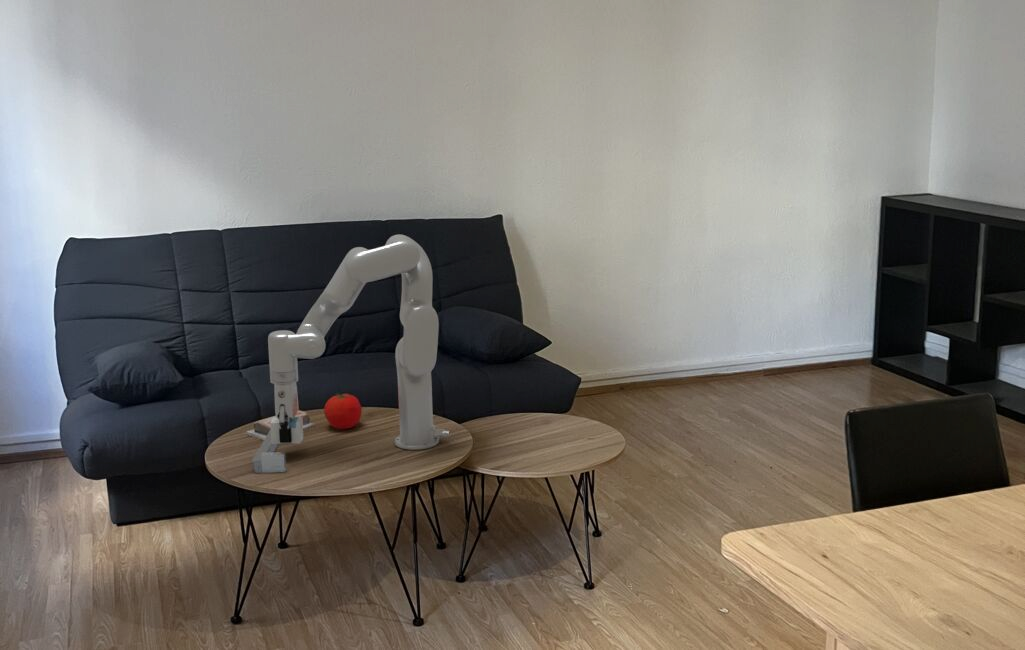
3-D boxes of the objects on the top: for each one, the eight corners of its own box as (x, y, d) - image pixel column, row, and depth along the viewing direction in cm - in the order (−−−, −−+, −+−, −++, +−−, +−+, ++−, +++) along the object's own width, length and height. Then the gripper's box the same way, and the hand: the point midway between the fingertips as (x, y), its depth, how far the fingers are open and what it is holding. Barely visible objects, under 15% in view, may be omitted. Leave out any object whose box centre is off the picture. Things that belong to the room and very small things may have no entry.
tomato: (367, 420, 332) (365, 388, 330) (356, 433, 320) (355, 400, 317) (331, 420, 333) (329, 388, 331) (319, 433, 321) (317, 400, 319)
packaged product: (292, 406, 333) (314, 412, 327) (293, 421, 334) (315, 427, 328) (245, 420, 319) (266, 427, 313) (246, 436, 321) (267, 443, 314)
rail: (300, 440, 314) (299, 424, 313) (284, 472, 289) (283, 454, 288) (271, 441, 314) (269, 425, 313) (252, 473, 289) (251, 455, 288)
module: (303, 437, 303) (302, 416, 302) (300, 443, 298) (299, 422, 297) (274, 438, 303) (273, 417, 302) (271, 444, 298) (270, 422, 297)
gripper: (292, 384, 288) (296, 448, 292) (302, 367, 305) (306, 429, 309) (264, 384, 288) (268, 449, 292) (276, 368, 305) (279, 429, 309)
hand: (287, 438), depth 301 cm, fingers closed on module, 5 cm apart
